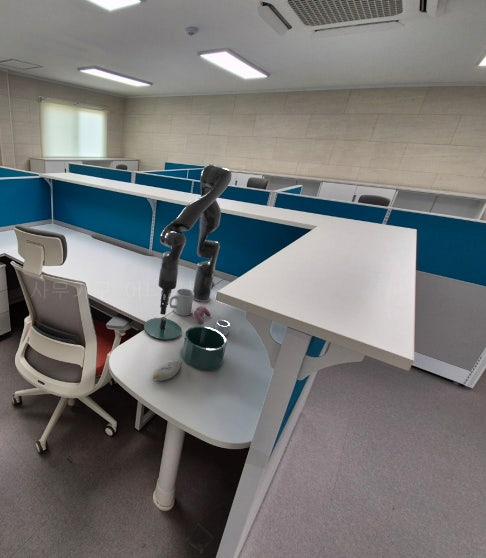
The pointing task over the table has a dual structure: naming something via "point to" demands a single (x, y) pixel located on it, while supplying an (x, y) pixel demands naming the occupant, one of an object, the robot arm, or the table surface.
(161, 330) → the lid
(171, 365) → the decorative stone
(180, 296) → the mug
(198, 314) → the video game controller
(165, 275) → the robot arm
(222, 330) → the steel cup
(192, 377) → the table surface
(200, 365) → the pot
